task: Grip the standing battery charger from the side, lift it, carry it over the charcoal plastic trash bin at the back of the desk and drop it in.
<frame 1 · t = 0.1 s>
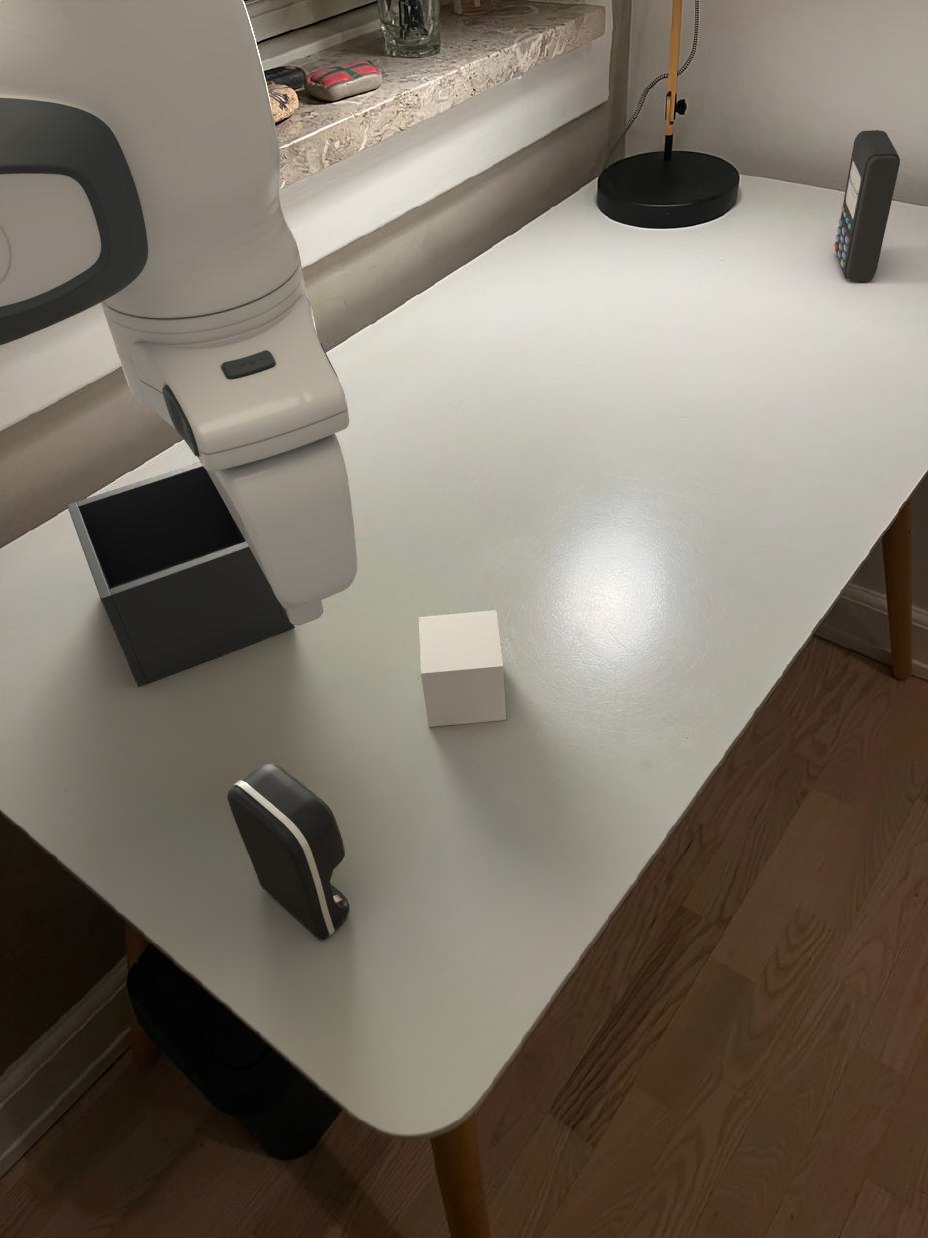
hand: (274, 562, 56), 24 cm above the table, tool pointing down, fingers open, 8 cm apart
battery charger: (312, 897, 69), on the table
trash bin: (196, 609, 90), on the table
white cube: (465, 696, 81), on the table
card reader: (852, 268, 128), on the table
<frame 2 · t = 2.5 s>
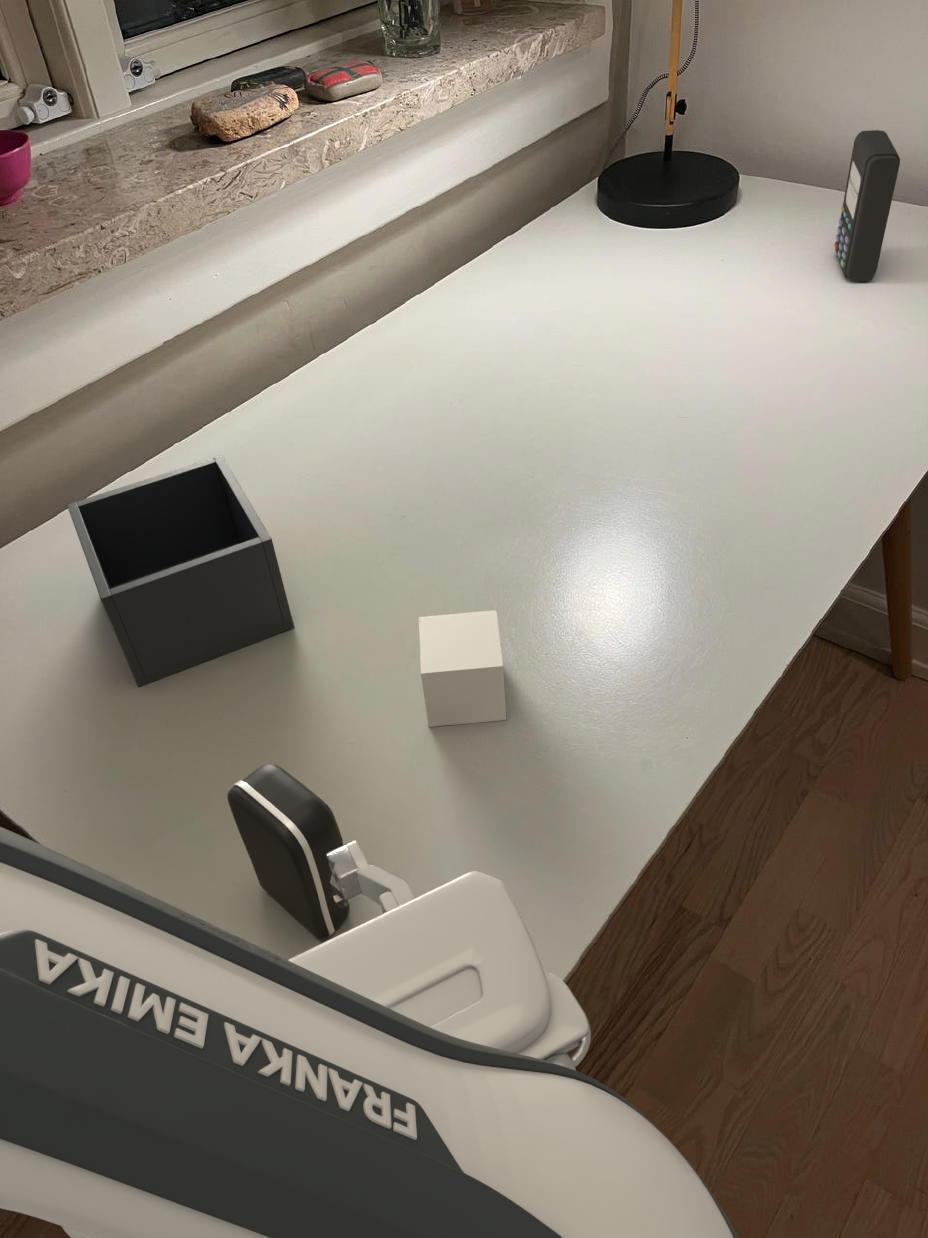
hand: (244, 898, 46), 20 cm above the table, tool horizontal, fingers open, 8 cm apart
nothing on the table moved.
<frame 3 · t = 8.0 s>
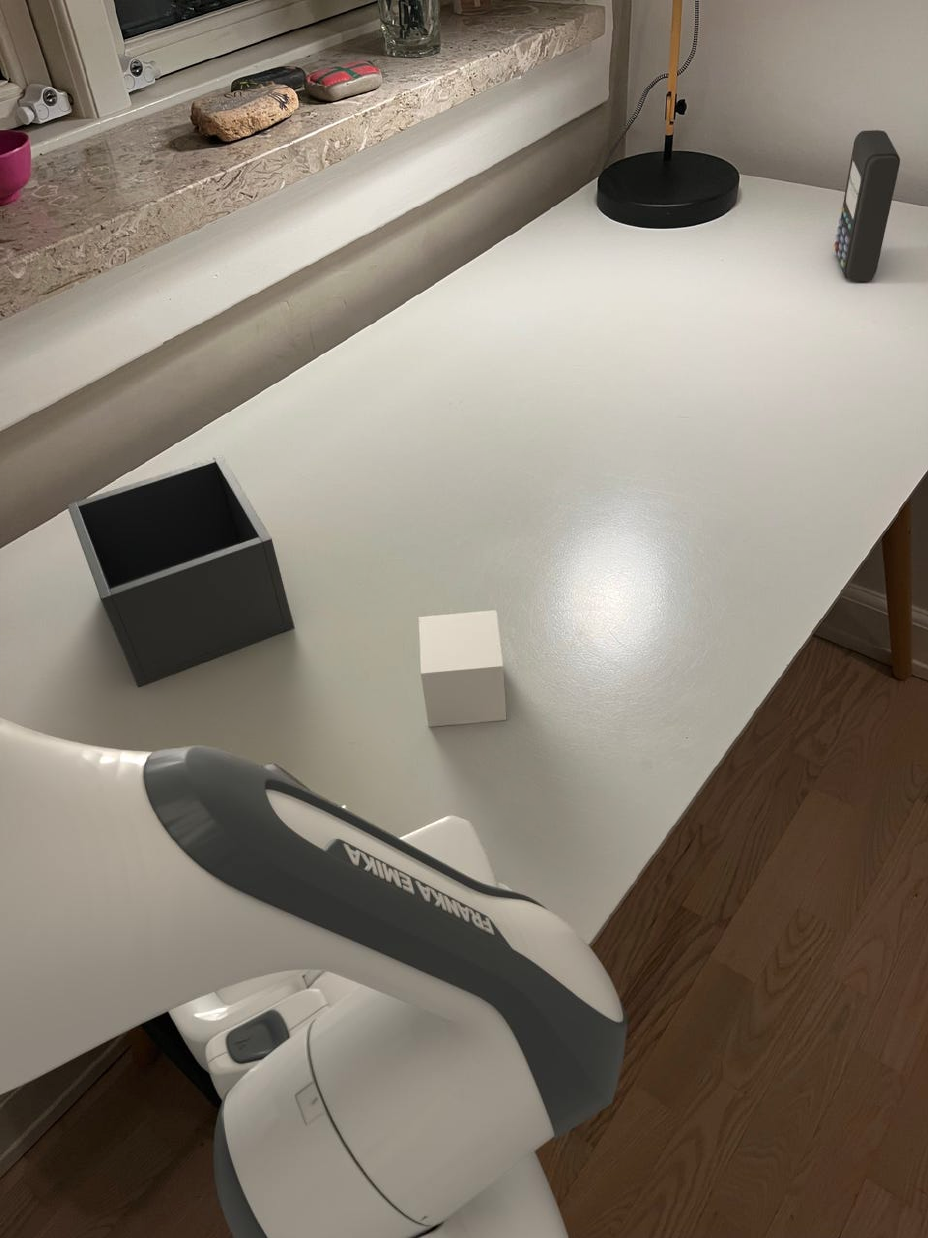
hand: (289, 834, 65), 6 cm above the table, tool horizontal, fingers closed on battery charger, 5 cm apart
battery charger: (312, 897, 69), on the table, touching gripper
everything else where it was.
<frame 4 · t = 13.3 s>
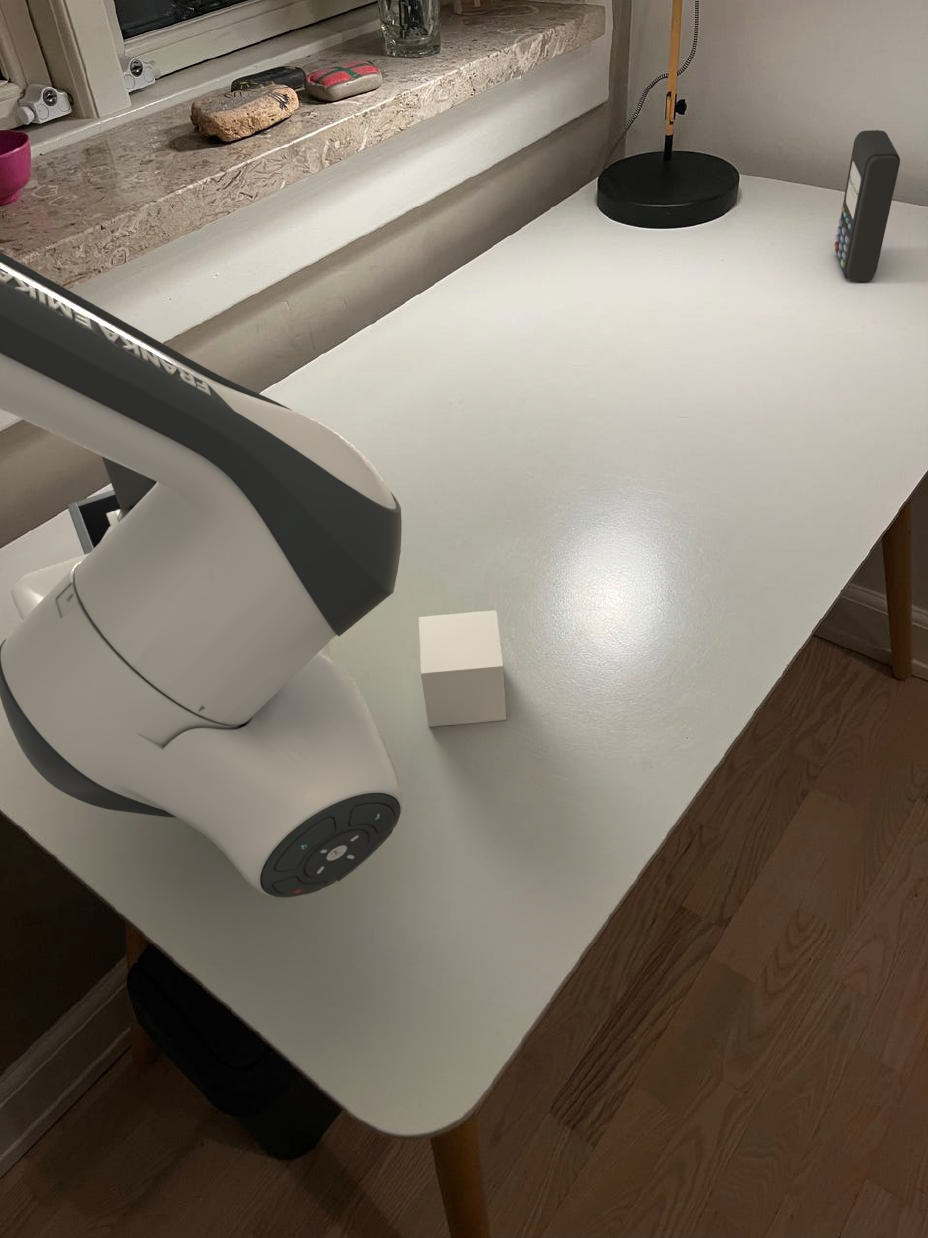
hand: (167, 502, 65), 22 cm above the table, tool horizontal, fingers closed on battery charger, 5 cm apart
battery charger: (197, 584, 69), point 16 cm above the table, touching gripper
everything else where it was.
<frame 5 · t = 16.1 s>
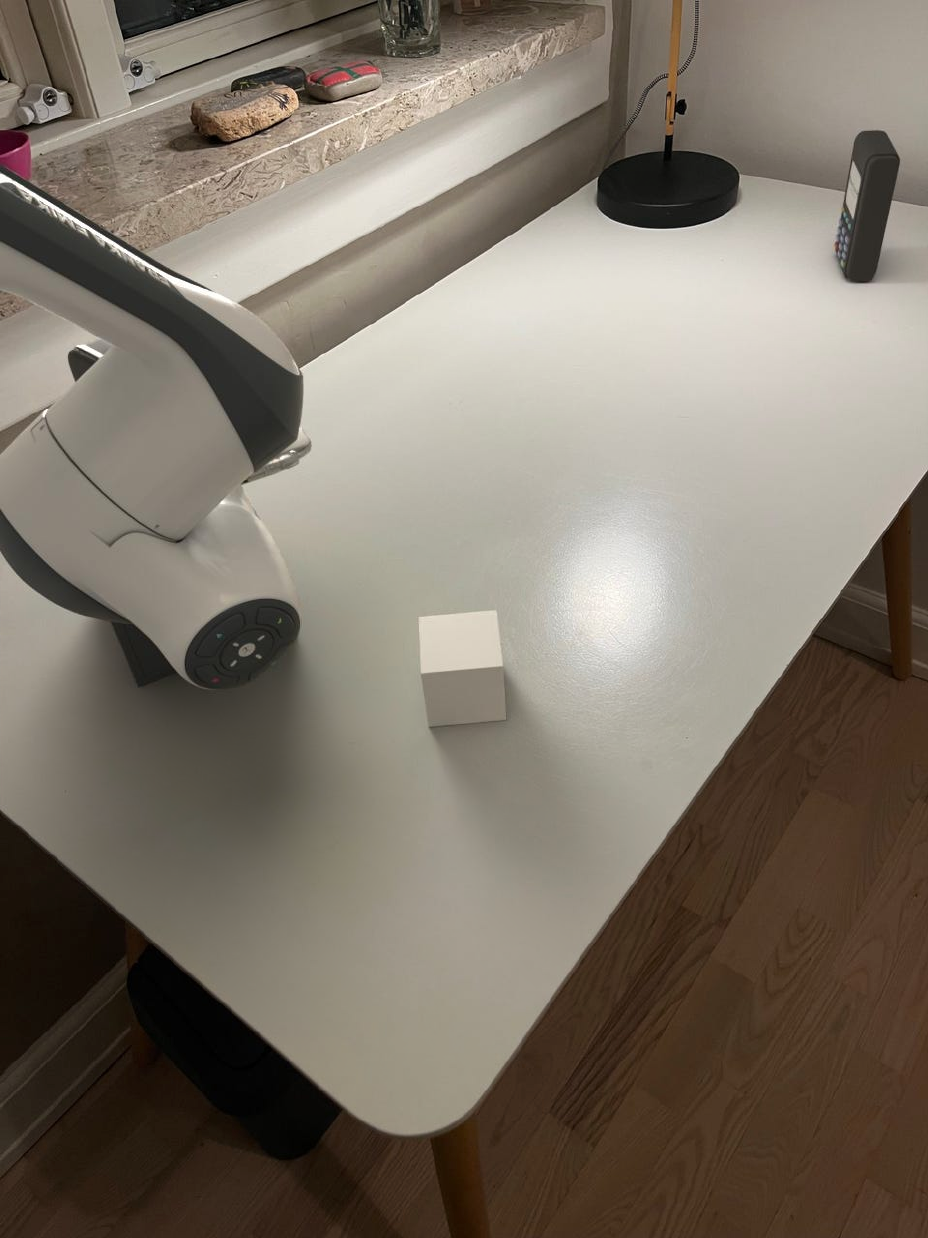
hand: (126, 407, 77), 20 cm above the table, tool horizontal, fingers closed on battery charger, 5 cm apart
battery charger: (154, 481, 81), point 14 cm above the table, touching gripper
everything else where it was.
when the fingers open (13 cm above the table, at t = 18.6 s): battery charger drops 6 cm, resting on trash bin.
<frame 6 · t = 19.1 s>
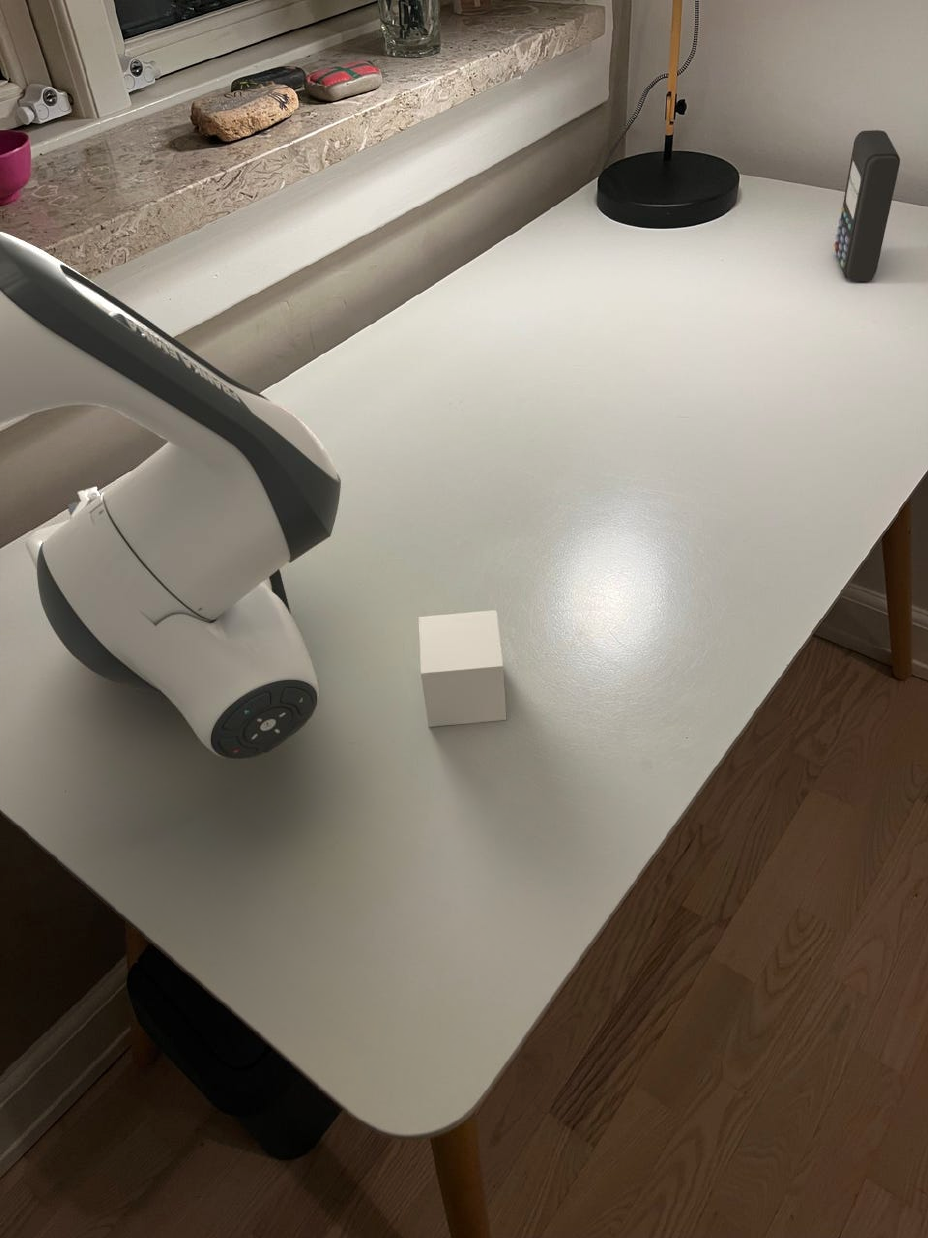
hand: (148, 477, 82), 14 cm above the table, tool horizontal, fingers open, 8 cm apart
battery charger: (196, 598, 90), point 1 cm above the table, touching trash bin
everything else where it was.
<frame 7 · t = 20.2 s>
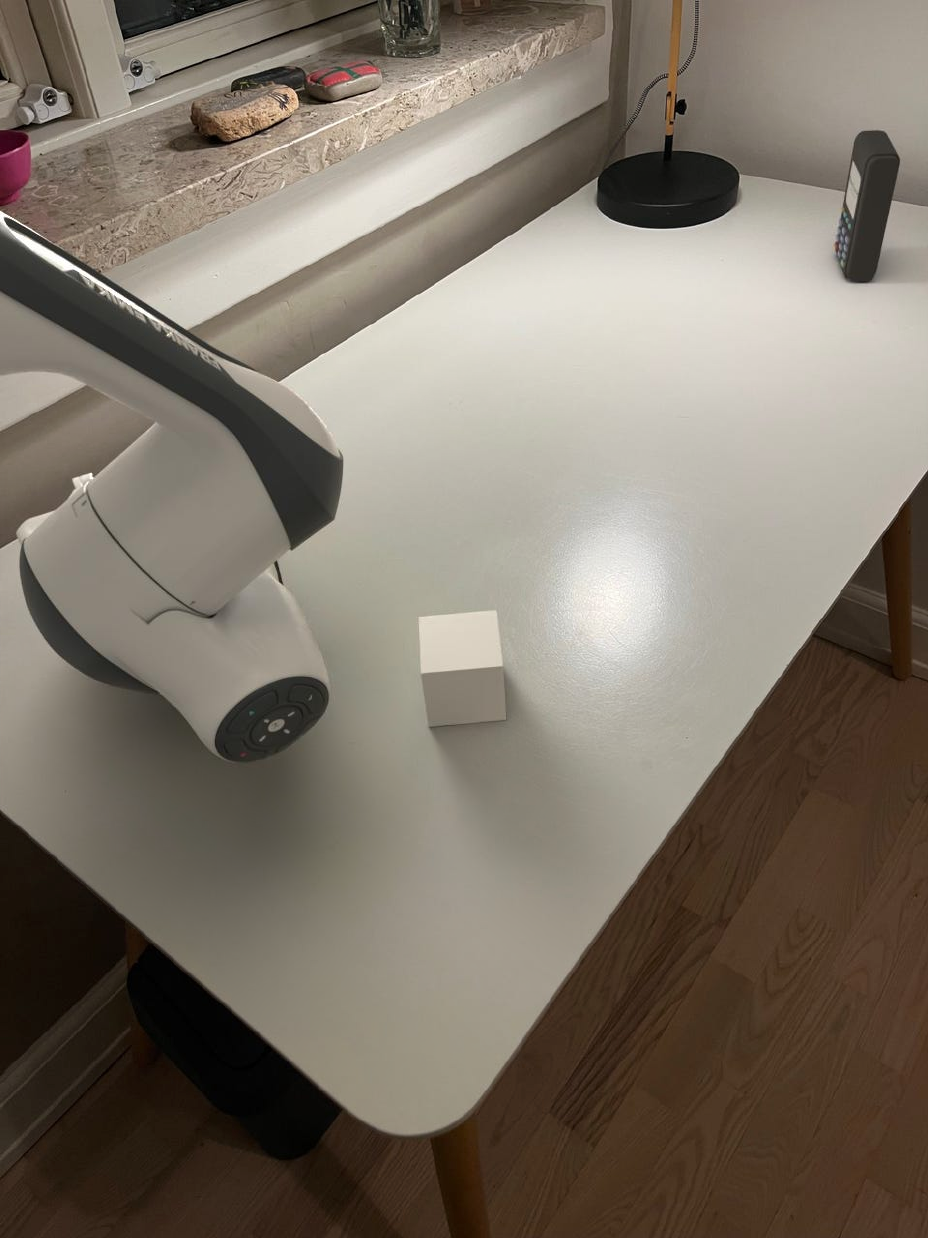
hand: (147, 463, 77), 17 cm above the table, tool horizontal, fingers open, 8 cm apart
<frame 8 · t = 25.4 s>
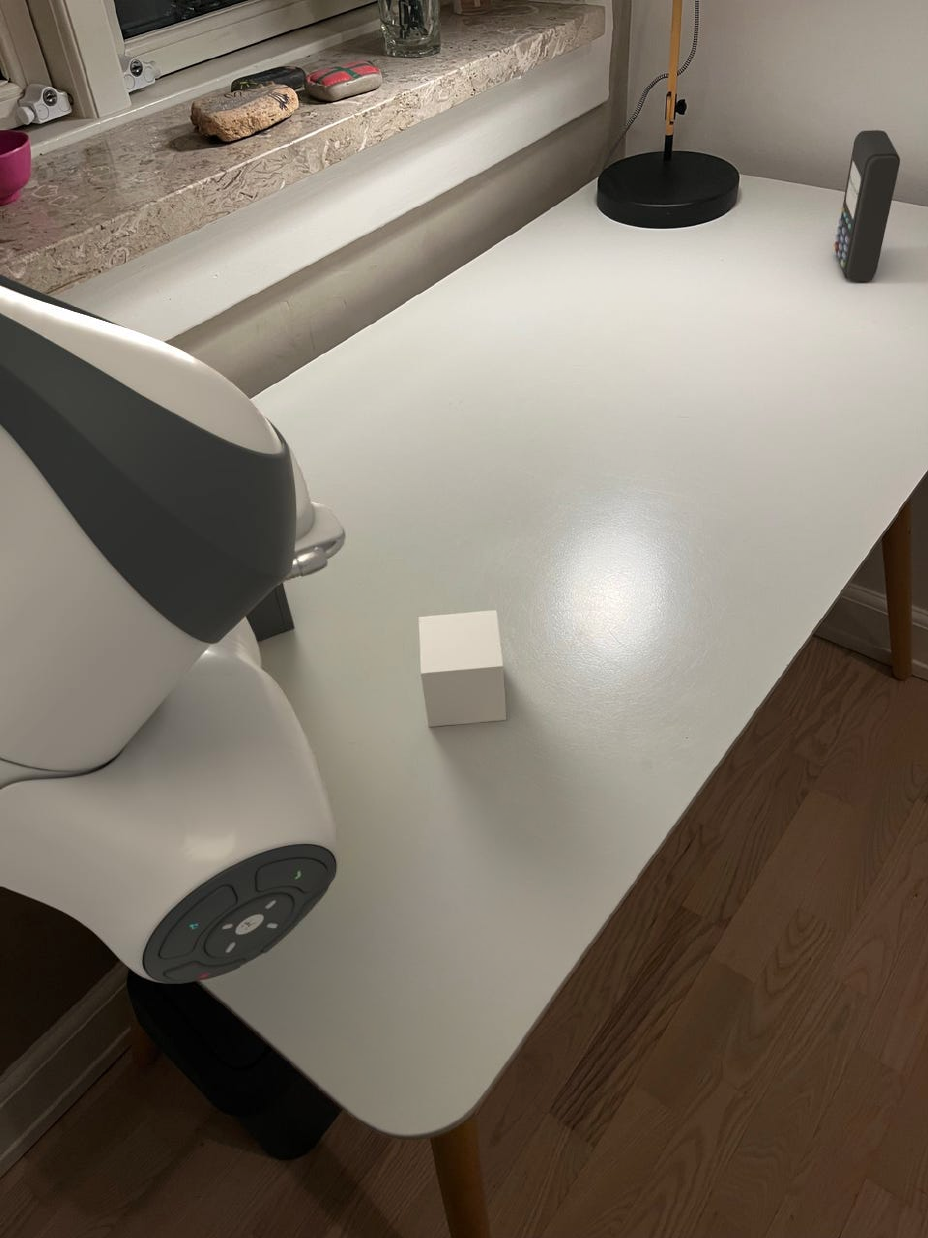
hand: (75, 472, 54), 30 cm above the table, tool horizontal, fingers open, 8 cm apart
nothing on the table moved.
at the end: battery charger inside the target area in the trash bin (0.4 cm from its centre), point 0.6 cm above the trash bin's base; the gripper is holding nothing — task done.
